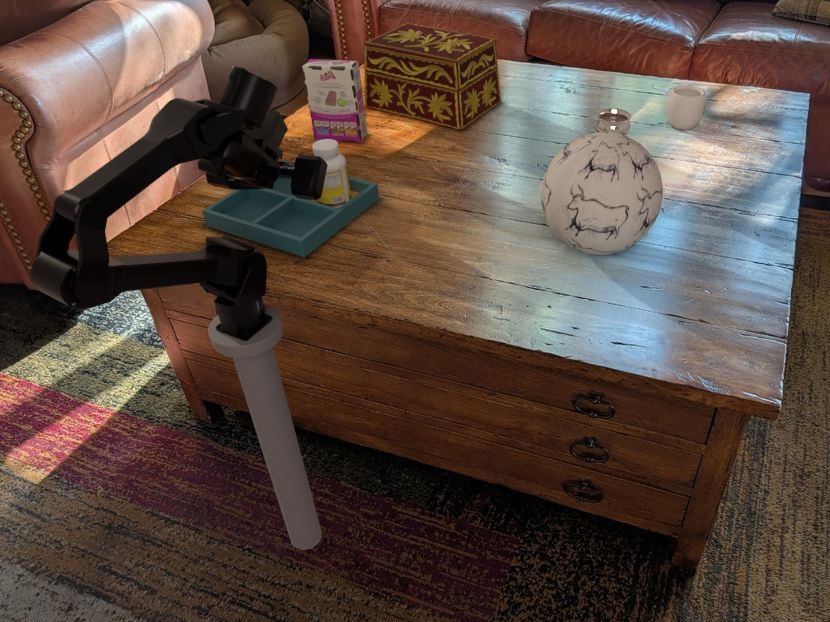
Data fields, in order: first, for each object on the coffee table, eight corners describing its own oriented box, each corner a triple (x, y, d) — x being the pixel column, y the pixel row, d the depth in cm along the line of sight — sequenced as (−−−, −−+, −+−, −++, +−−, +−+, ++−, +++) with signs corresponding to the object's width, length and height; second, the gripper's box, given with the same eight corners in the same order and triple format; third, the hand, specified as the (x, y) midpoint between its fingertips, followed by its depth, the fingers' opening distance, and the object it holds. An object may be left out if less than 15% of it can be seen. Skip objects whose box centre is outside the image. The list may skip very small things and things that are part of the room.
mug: (695, 136, 161) (702, 101, 155) (658, 128, 164) (663, 94, 159) (710, 116, 168) (717, 82, 163) (674, 109, 172) (680, 76, 166)
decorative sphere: (677, 254, 125) (699, 144, 112) (587, 292, 117) (599, 178, 104) (602, 206, 138) (614, 102, 125) (516, 237, 130) (519, 130, 117)
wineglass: (631, 174, 147) (639, 117, 139) (604, 183, 145) (611, 125, 137) (610, 162, 152) (616, 105, 144) (584, 170, 149) (589, 113, 141)
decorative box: (364, 107, 175) (356, 42, 165) (409, 82, 187) (404, 20, 177) (460, 131, 164) (458, 63, 154) (501, 102, 176) (502, 38, 166)
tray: (304, 257, 126) (301, 241, 124) (206, 226, 134) (201, 210, 132) (379, 199, 141) (377, 183, 139) (286, 174, 149) (283, 159, 147)
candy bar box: (368, 134, 164) (359, 59, 153) (362, 143, 160) (352, 68, 149) (321, 131, 165) (309, 57, 154) (313, 140, 161) (300, 65, 151)
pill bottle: (339, 190, 142) (330, 133, 134) (358, 201, 138) (350, 144, 131) (310, 201, 139) (300, 144, 131) (330, 214, 135) (320, 155, 127)
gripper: (311, 106, 102) (352, 147, 117) (194, 94, 106) (249, 135, 121) (296, 183, 101) (339, 214, 117) (179, 168, 105) (236, 200, 121)
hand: (290, 188), depth 119 cm, fingers open, 9 cm apart
